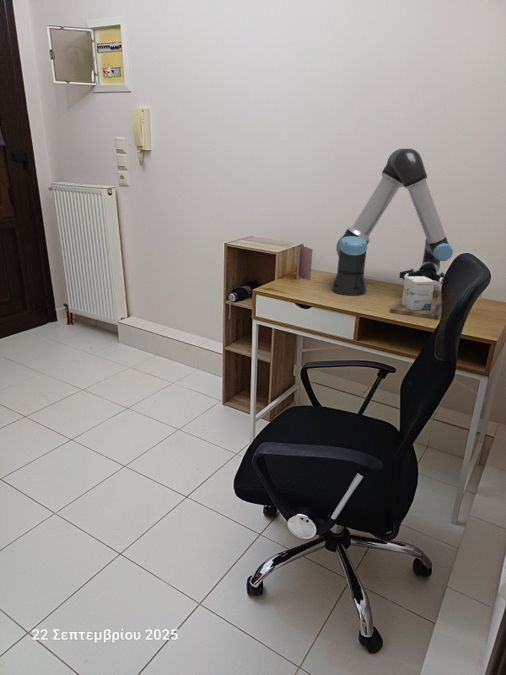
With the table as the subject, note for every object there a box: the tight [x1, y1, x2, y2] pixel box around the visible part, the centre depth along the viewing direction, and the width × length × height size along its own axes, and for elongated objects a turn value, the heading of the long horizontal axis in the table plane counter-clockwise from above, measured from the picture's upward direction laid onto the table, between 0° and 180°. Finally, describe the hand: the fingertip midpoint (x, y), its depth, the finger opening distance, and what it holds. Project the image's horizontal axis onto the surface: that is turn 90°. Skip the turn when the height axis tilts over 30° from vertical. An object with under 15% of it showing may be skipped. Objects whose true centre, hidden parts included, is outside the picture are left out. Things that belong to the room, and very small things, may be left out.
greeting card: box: [295, 244, 313, 281], centre depth 236 cm, size 11×7×15 cm, turn 169°
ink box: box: [401, 276, 436, 311], centre depth 190 cm, size 9×8×12 cm
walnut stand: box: [389, 294, 442, 320], centre depth 191 cm, size 18×14×6 cm
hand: (422, 281), depth 197 cm, fingers open, 13 cm apart
